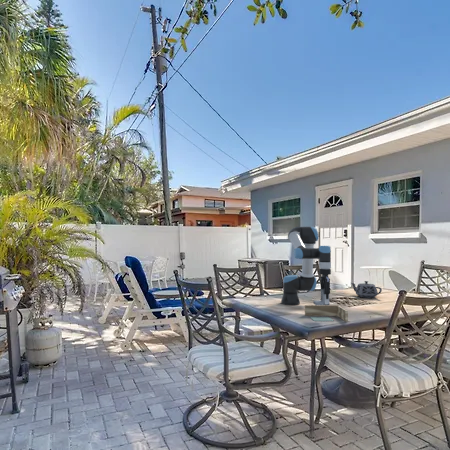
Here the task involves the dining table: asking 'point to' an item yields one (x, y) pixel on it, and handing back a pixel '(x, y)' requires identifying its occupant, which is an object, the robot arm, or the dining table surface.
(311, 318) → the mat
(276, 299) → the dining table surface
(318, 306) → the wooden corner frame
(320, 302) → the angle block
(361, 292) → the teapot
